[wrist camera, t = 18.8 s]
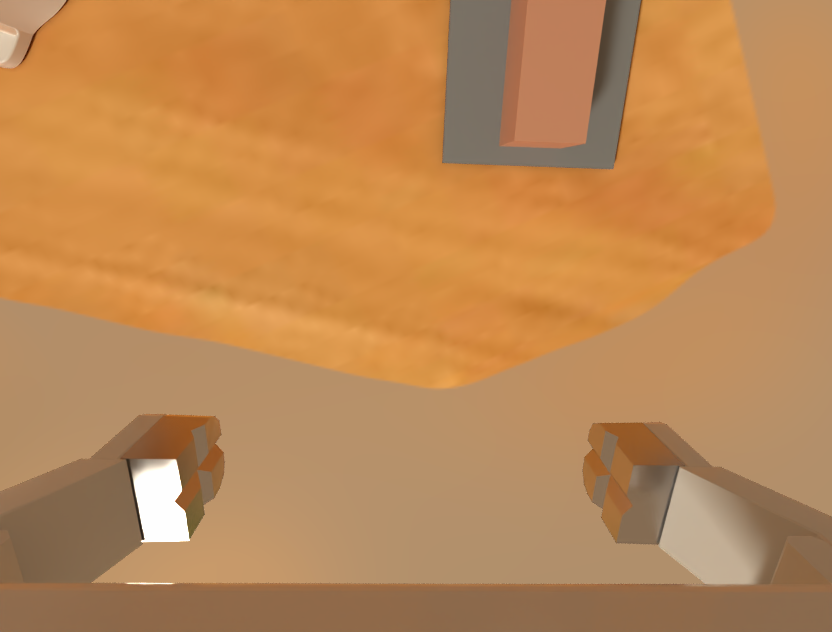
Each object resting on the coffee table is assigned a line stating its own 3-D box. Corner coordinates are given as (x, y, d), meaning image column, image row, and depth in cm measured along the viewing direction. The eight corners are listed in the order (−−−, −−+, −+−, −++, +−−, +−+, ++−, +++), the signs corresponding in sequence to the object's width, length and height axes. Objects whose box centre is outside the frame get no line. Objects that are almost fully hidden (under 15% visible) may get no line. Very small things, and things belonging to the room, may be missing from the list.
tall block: (514, 140, 30) (534, -73, 26) (499, 146, 34) (514, -34, 31) (585, 143, 30) (615, -68, 26) (560, 148, 35) (583, -30, 31)
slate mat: (442, 162, 35) (443, 162, 35) (454, -78, 30) (455, -82, 30) (610, 169, 36) (613, 169, 35) (647, -66, 31) (652, -71, 30)
